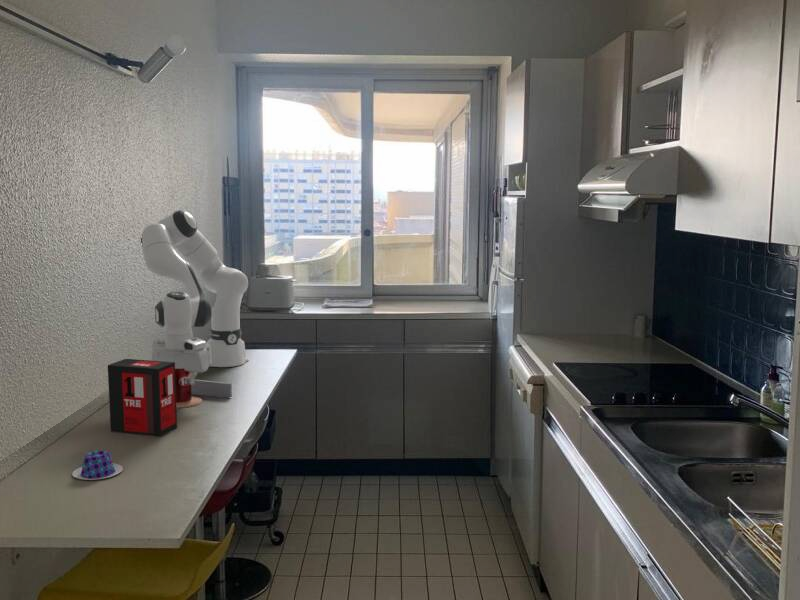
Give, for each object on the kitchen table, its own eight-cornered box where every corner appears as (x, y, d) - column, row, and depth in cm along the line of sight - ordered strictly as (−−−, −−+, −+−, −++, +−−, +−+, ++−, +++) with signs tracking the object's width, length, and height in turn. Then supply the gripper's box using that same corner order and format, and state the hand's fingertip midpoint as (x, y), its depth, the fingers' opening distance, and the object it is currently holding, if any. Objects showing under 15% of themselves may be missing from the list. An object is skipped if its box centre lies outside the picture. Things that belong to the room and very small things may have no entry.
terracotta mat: (155, 401, 270) (155, 400, 270) (193, 395, 278) (193, 394, 278) (169, 410, 260) (169, 409, 260) (208, 403, 267) (208, 402, 267)
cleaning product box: (110, 431, 237) (107, 365, 234) (128, 423, 246) (125, 358, 243) (160, 436, 233) (158, 369, 230) (177, 427, 241) (174, 362, 238)
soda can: (194, 398, 272) (193, 363, 270) (187, 404, 265) (186, 368, 263) (173, 398, 272) (172, 363, 271) (166, 404, 265) (164, 368, 263)
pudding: (105, 462, 213) (104, 443, 212) (132, 472, 205) (131, 452, 205) (62, 475, 203) (61, 455, 202) (89, 486, 196) (88, 465, 195)
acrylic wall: (170, 391, 282) (169, 377, 282) (172, 390, 283) (171, 377, 282) (230, 398, 274) (229, 383, 273) (231, 397, 275) (231, 383, 274)
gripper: (146, 341, 266) (147, 382, 268) (199, 346, 259) (200, 388, 261) (158, 337, 272) (159, 377, 274) (210, 342, 265) (211, 383, 267)
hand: (180, 382), depth 268 cm, fingers closed on soda can, 7 cm apart
